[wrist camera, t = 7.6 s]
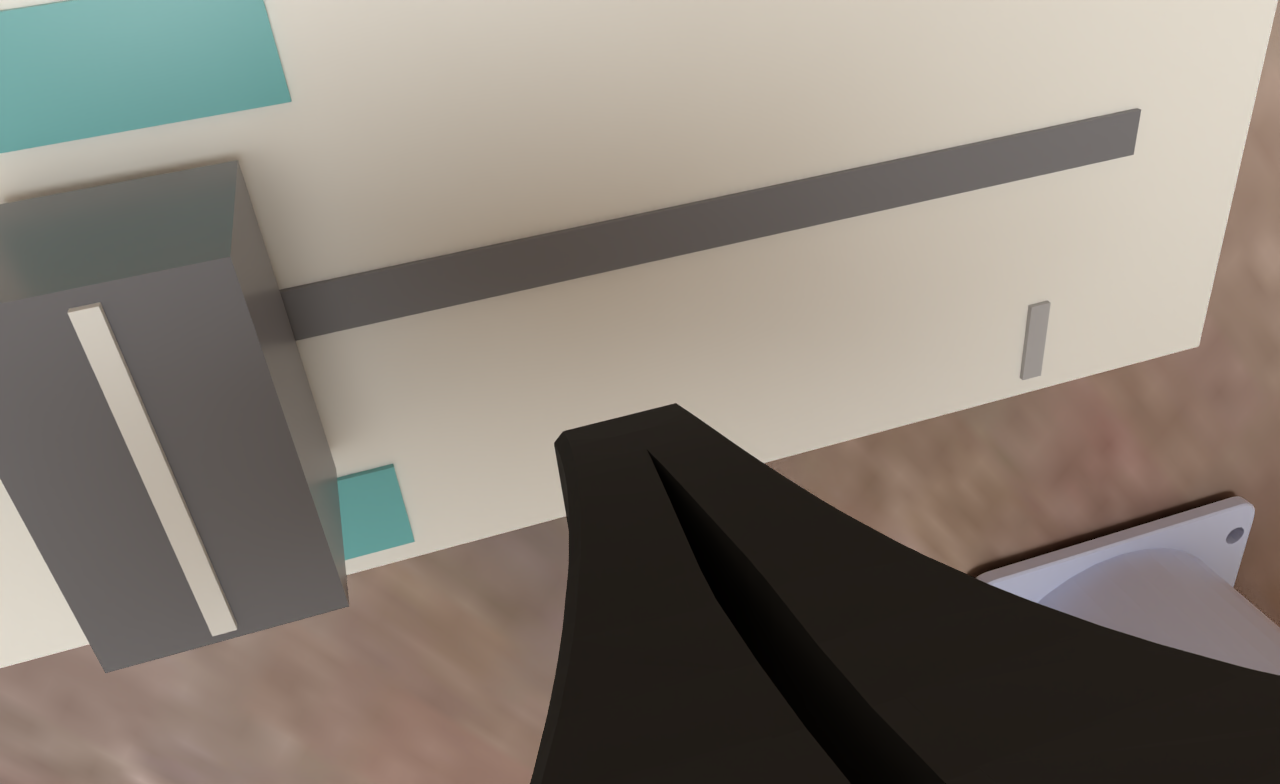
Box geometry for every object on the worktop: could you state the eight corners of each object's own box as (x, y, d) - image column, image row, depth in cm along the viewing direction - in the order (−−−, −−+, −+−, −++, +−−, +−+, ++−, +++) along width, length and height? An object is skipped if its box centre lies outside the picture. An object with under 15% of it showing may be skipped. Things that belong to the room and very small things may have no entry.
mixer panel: (1147, 314, 22) (1202, 348, 21) (-59, 626, 18) (-86, 695, 16) (1251, -222, 17) (1333, -221, 16) (-450, 20, 12) (-535, 50, 11)
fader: (336, 468, 16) (349, 611, 13) (133, 519, 15) (104, 678, 13) (237, 159, 13) (229, 260, 11) (-14, 206, 13) (-89, 325, 10)
